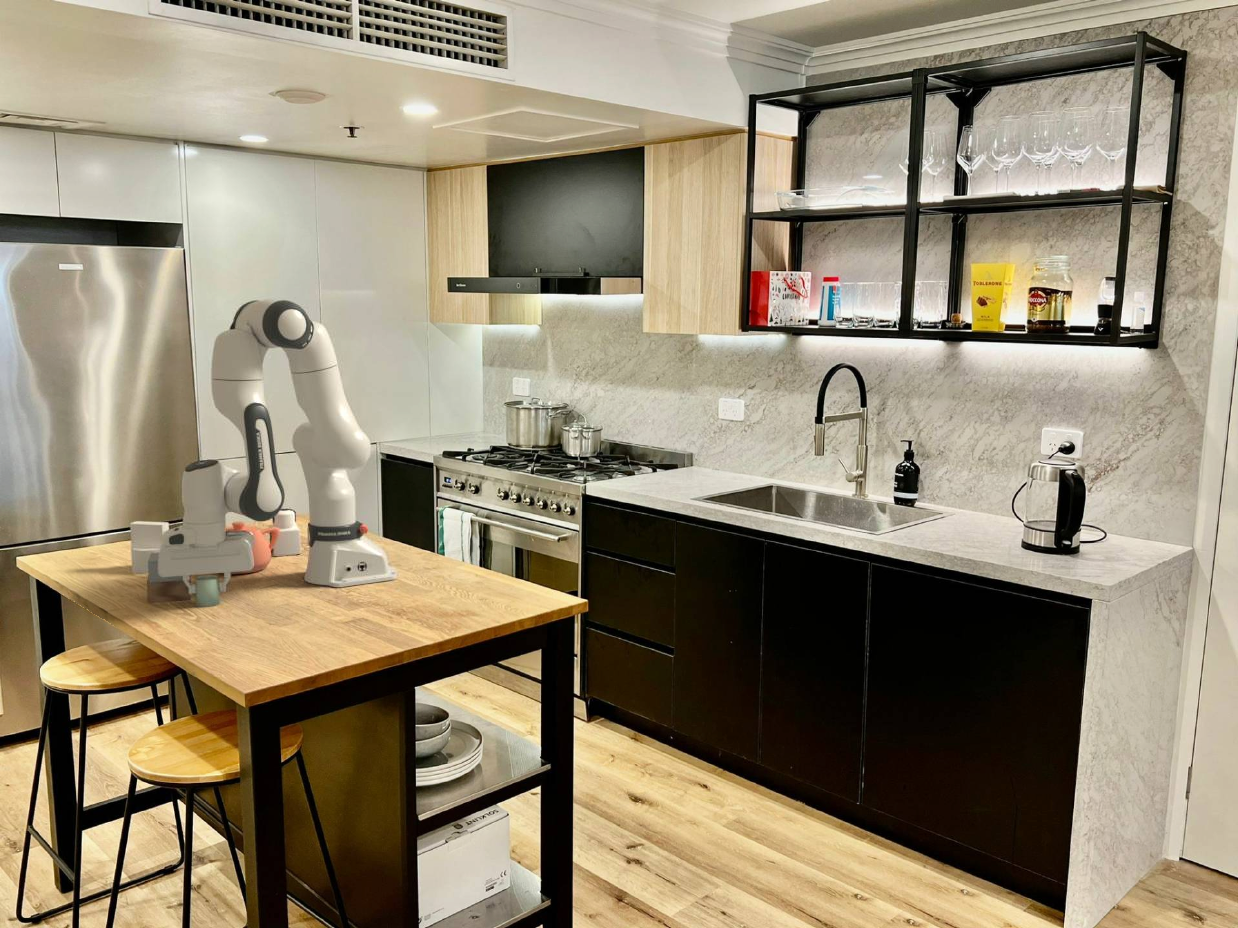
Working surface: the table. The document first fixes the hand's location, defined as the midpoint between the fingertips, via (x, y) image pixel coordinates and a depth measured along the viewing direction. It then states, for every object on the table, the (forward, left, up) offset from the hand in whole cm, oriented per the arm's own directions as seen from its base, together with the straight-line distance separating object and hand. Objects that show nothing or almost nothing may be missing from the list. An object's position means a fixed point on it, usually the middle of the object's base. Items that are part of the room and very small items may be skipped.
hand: (207, 592), depth 232 cm
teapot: (-7, -29, -3) cm, 30 cm away
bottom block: (+8, -8, -3) cm, 12 cm away
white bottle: (-20, -43, -3) cm, 48 cm away
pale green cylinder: (0, 0, -3) cm, 3 cm away
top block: (+8, -8, +2) cm, 12 cm away
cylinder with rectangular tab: (+13, -36, -3) cm, 38 cm away
